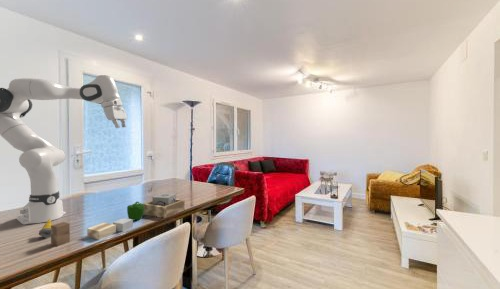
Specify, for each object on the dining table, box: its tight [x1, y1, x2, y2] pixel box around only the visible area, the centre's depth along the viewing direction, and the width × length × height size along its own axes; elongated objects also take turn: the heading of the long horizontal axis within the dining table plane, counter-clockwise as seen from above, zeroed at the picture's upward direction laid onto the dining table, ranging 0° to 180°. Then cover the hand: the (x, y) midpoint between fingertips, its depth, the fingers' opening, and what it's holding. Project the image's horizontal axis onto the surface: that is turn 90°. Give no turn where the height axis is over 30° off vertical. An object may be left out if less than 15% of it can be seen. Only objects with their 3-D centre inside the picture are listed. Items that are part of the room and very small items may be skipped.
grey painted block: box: [112, 218, 134, 233], centre depth 111 cm, size 6×6×4 cm
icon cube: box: [151, 192, 177, 206], centre depth 137 cm, size 10×10×10 cm
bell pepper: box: [126, 201, 144, 221], centre depth 123 cm, size 8×8×10 cm
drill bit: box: [38, 219, 53, 240], centre depth 101 cm, size 5×5×10 cm
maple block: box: [86, 222, 117, 241], centre depth 103 cm, size 8×8×4 cm
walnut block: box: [50, 221, 71, 247], centre depth 95 cm, size 4×4×8 cm
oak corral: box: [141, 198, 186, 219], centre depth 136 cm, size 17×17×6 cm
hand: (121, 127), depth 130 cm, fingers open, 8 cm apart
